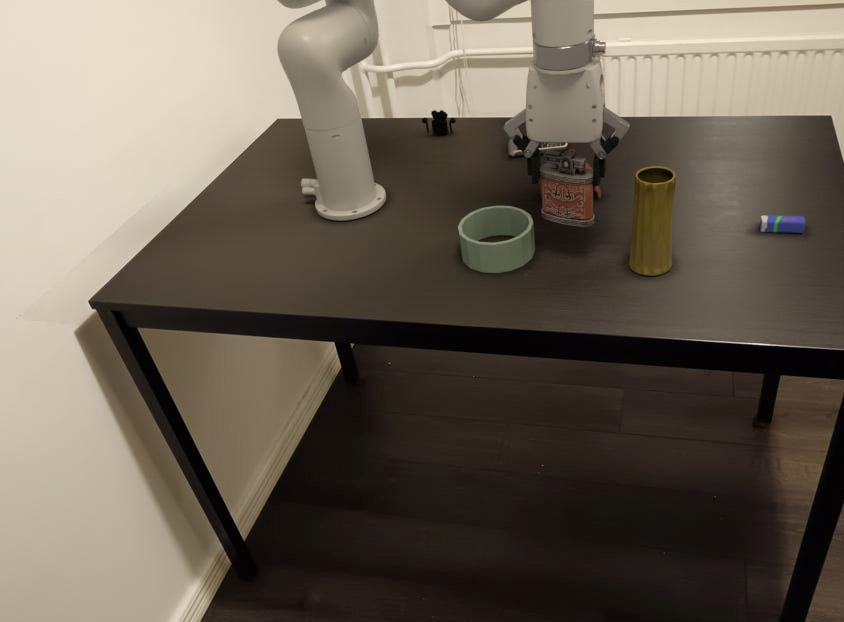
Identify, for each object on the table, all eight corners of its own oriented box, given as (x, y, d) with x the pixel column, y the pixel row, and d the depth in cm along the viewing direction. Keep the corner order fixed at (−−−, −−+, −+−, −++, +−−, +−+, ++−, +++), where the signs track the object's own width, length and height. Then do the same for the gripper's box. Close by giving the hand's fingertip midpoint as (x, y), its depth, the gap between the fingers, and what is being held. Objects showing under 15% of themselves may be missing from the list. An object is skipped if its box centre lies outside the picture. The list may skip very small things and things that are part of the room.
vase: (663, 280, 106) (669, 188, 97) (621, 271, 109) (624, 181, 100) (678, 258, 110) (685, 168, 101) (638, 250, 112) (642, 161, 103)
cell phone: (568, 152, 140) (568, 145, 139) (509, 158, 140) (508, 151, 139) (565, 138, 144) (565, 131, 143) (507, 144, 145) (507, 137, 144)
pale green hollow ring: (453, 270, 114) (449, 242, 111) (472, 231, 122) (469, 204, 119) (525, 275, 111) (523, 246, 108) (540, 235, 119) (539, 207, 116)
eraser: (759, 226, 114) (761, 214, 113) (802, 227, 112) (804, 215, 111) (759, 232, 112) (761, 220, 111) (803, 234, 111) (805, 222, 109)
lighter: (598, 217, 108) (598, 152, 102) (588, 229, 106) (588, 163, 100) (548, 207, 112) (545, 144, 106) (537, 218, 110) (534, 154, 103)
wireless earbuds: (423, 136, 152) (419, 112, 149) (426, 131, 154) (423, 107, 151) (456, 136, 151) (453, 112, 147) (459, 131, 152) (456, 106, 149)
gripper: (637, 40, 94) (633, 169, 106) (502, 43, 99) (512, 166, 110) (631, 62, 89) (627, 195, 100) (488, 64, 94) (500, 191, 105)
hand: (566, 180), depth 105 cm, fingers closed on lighter, 8 cm apart
